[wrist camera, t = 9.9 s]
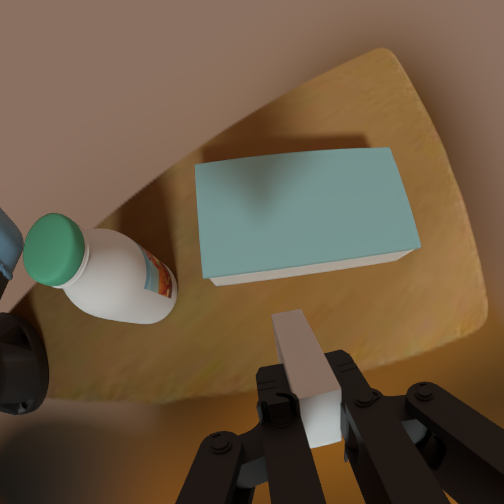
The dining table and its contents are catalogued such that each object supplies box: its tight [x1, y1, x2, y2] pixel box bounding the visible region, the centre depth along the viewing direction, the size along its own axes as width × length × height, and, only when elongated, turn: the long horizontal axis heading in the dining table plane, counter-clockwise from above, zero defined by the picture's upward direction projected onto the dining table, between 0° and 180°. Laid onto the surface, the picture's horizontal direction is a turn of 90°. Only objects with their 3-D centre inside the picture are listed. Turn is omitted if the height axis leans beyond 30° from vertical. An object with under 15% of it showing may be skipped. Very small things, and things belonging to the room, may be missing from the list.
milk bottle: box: [23, 213, 177, 324], centre depth 26 cm, size 8×8×20 cm
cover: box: [195, 147, 421, 279], centre depth 32 cm, size 23×13×1 cm, turn 97°
